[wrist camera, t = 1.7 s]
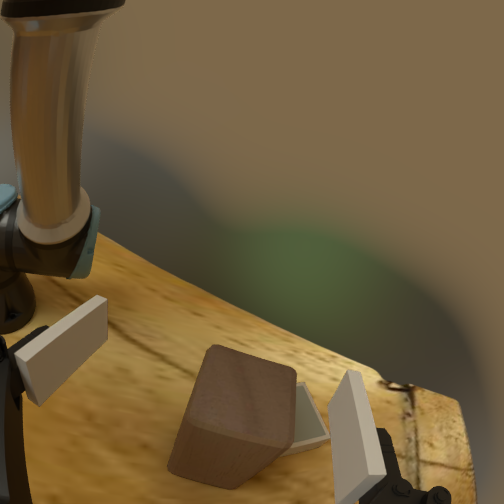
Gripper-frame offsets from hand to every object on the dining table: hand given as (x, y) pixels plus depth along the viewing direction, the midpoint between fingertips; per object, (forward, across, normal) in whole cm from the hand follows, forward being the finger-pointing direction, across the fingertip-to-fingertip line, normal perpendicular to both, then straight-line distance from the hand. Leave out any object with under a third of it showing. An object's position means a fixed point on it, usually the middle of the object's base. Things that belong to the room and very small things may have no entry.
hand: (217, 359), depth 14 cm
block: (+13, 0, -29) cm, 32 cm away
